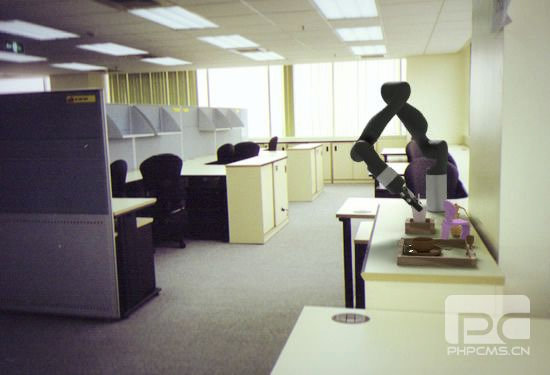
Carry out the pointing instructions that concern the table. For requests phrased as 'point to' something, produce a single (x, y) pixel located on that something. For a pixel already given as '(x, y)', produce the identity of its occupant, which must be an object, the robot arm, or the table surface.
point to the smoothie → (420, 215)
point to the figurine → (457, 229)
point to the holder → (420, 226)
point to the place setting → (430, 246)
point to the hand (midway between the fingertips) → (421, 208)
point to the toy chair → (453, 221)
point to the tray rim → (437, 260)
